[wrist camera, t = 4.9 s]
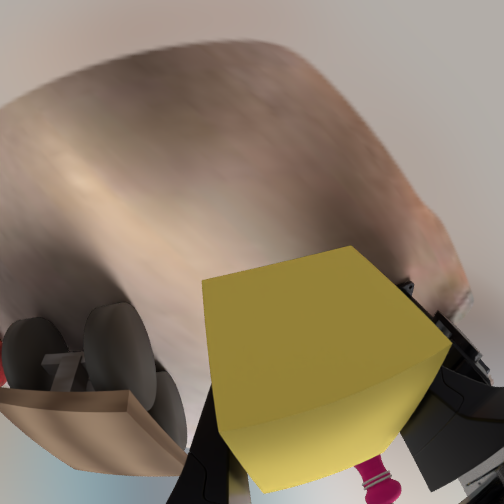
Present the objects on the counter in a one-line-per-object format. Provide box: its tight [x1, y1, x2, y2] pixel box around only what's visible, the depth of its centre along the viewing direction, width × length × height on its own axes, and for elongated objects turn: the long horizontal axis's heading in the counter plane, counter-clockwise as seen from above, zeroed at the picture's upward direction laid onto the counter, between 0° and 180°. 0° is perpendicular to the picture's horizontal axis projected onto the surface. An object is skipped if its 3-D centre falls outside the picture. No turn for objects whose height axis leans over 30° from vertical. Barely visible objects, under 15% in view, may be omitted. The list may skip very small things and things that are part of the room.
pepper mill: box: [354, 454, 401, 504], centre depth 30 cm, size 7×7×20 cm
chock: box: [202, 245, 452, 494], centre depth 8 cm, size 5×7×5 cm
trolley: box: [0, 302, 187, 476], centre depth 17 cm, size 13×16×10 cm
